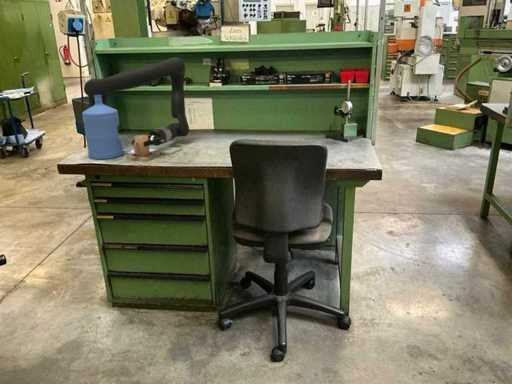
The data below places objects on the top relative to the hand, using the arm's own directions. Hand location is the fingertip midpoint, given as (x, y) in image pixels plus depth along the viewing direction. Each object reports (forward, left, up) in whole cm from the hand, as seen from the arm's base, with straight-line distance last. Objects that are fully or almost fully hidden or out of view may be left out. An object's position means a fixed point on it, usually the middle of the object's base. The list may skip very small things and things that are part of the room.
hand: (138, 143), depth 187 cm
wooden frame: (0, +2, -7) cm, 7 cm away
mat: (+4, +16, -7) cm, 18 cm away
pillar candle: (0, +1, -7) cm, 7 cm away
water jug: (-19, 0, -7) cm, 21 cm away
